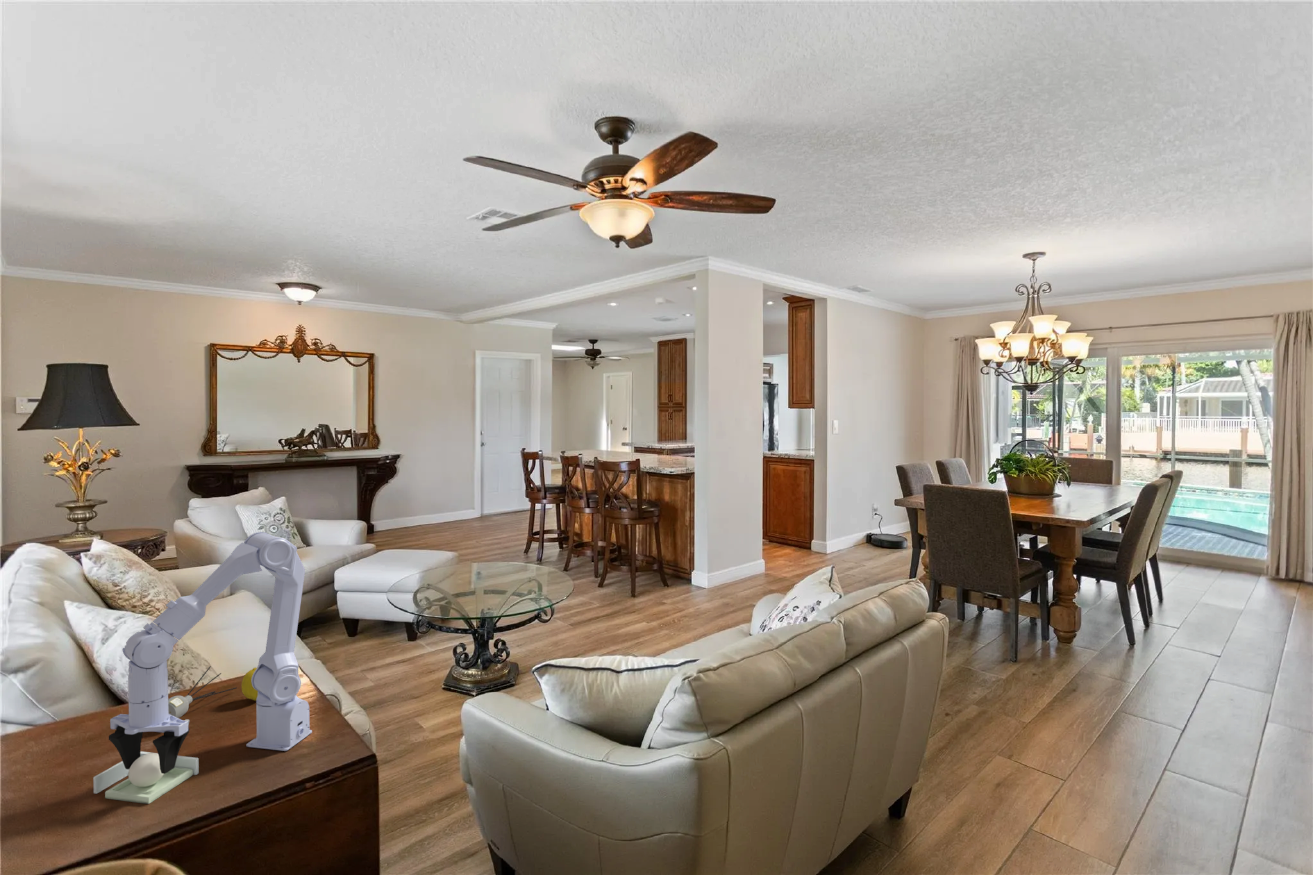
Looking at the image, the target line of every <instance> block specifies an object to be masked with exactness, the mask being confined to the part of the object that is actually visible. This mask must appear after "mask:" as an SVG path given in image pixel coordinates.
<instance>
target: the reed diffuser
mask: <svg viewBox="0 0 1313 875" xmlns="http://www.w3.org/2000/svg"><path fill="white" fill-rule="evenodd" d="M211 668H212V666H209V667H208V668H207V670H206V671H205V672H204V673H203V674H202V675H201V677H200V678H199V680H197V682H196V683H195V684H194V685H193V687H192V688H191V689H190V690H189V692H188V694H186V695H185V696H183V695H175V696H172V697H170V698H169V697H168V712H169V714H170V715H172V716H174V717H177V718H179V719H180V718H181V717H182V716H183V715H184V716H185V715H186V713H187V712H188V710H189V707H190V706H189V705H190V704H191V703H192V702H193V701H196V700H199V699H205V698H207V697H210V696H215V695H217V694H218V695H219V694H221V693H224V692H228V691H232V690H235V689H237V688H238V687H237V686H236V687H233V688H230V689H225V690H222V691H218V692H216V690H215V691H212V692H209V693H206V694H203V695H199V696H196V697H193V696H195V695H196V694H197V693H198V692H200V691H201V690H202V689H204V688H205V687H206V686H207V685H208V684H210V683H211V682H213V681H214V680H215V679H217V678H218V677H219V676H220V675H221V674H222V672H220V673H219V674H217V675H216V676H215V677H213V678H212V679H211V680H210V681H208V682H207V683H205V684H204V685H203V686H201V687H200V688H199V689H197V690H196V691H195V692H194V693H192V692H193V690H194V689H195V688H196V687H197V685H198V684H199V683H200V681H201V680H203V677H204V676H205V675H206V674H207V672H208V671H209V670H210V669H211ZM191 693H192V694H191ZM190 694H191V695H190ZM184 721H188V726H189V724H190V719H185V720H184Z"/></svg>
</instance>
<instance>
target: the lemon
mask: <svg viewBox="0 0 1313 875" xmlns="http://www.w3.org/2000/svg"><path fill="white" fill-rule="evenodd" d="M256 669H257V667H253V668H252V669H250V670H248V671H247V672H246V673H245V675H244V676H243V678H242V681H241V692H242V694H243V696H244V697H245V698H246V699H248V700H252V701H255V702H256V699H257V696H258V691H257V690H256V689H254V688H253V686H252V682H251V680H252V675H253V673H254V672H255V670H256Z"/></svg>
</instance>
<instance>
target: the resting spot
mask: <svg viewBox="0 0 1313 875" xmlns="http://www.w3.org/2000/svg"><path fill="white" fill-rule="evenodd" d="M192 776H194V775H193V769H187V768H179V767H174V769H172V770H170V771H169V772H167V773H165V774H164V775H163V777H162V778H161V779H160V780H159V781H157V782H156V783H154V784H152V785H150V786H146V787H139V786H135V785H134V784H132V783H131V782H130V780H129V777H128V778H127V779H125V780H123V781H121V782H119V783H117V784H116V785H114V786H113V787H111V788H109V789H107V790H105V792H104V795H105V796H104V798H105V799H108V800H115V801H122V802H130V803H131V802H132V803H138V804H146V805H149V804H151V803H153V802H154V801H155V800H158V799H159V798H160V797H161V796H163V795H165V794H167V793H168V792H169V791H171V790H172V789H174V788H176V787H177V786H179V785H180V784H182V783H183V782H185V781H187V780H188V779H190V778H191V777H192Z"/></svg>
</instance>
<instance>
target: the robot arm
mask: <svg viewBox="0 0 1313 875" xmlns="http://www.w3.org/2000/svg"><path fill="white" fill-rule="evenodd" d="M297 551H298V547H297V546H296V545H295V544H293V543H292V542H290V541H289V539H287V538H284V537H280V536H276V535H272V534H270V533H268V532H267V531H266V532H264V531H257V532H254V533H252V534H250V535H249V536H248V537H246V539H245V540H244V541H243V542H241V543H239V544H238V545H236V546H235V548H234V549H233V551H232V552H231V553H230V554H229V556H228V557H227V558H226V559H225V560H224V561H223V562H222V563H221V564H220V565H219V566H218V567H217V568H216V569H214V571H213V572H212V573H211V574H210V575H209V576H208V577H207V578H206V579H205V580H204V581H203V582H202V584H200V585H199V586H198V587H197V588H196V589H195V590H194V591H193V592H192V593H191V594H190V595H186V596H180V597H178V598H177V599H175V600H172V599H171V600H170V601H169V602H167V603H166V604H165V606H166V607H167V608H166V609H165V610H164V611H163V612H161V613H160V615H158V616H157V617H156V618H154V620H152V622H150V623H146V624H145V625H144V626H143V627H142V628H143V630H141V631H137V632H136V633H133V634H132V635H131V636H130V637H129V638H128V639H127V641H126V643H125V645H124V647H123V648H122V652H123V653H122V654H123V656H124V657H125V658H127V659H128V660H129V661H128V675H127V682H128V683H127V689H128V690H127V691H128V714H124V713H120V714H117V715H116V716H113V717H112V718H110V719H109V720H110V721H109V722H110V723H109V724H110V730H115V731H114V732H112V733H111V734H109V735H108V741H110V742H111V743H112V744H113V746H114V747H115V748H116V750H117V752H118V753H119V756H120V758H121V760H122V761H123V763H124V766H125V768H126V769H130V767H131V765H132V764H133V762H134V761H135V760H136V759H138V758H139V757H140V751H141V752H142V750H141V748H142V747H141V746H142V741H143V735H144V733H147V732H154V733H155V732H156V733H162V734H163V735H160V736H158V737H157V738H155V739H153V740H152V744H153V745H154V746H155V749H156V753H158V755H159V762H160V770H161V773H163V774H165V773H167V772H169V771H170V770H172V769H174V767H175V763H176V759H177V756H179V753H180V750H181V747H182V745H183V743H184V741H185V739H186V738H187V736H188V734H189V733H190V728H189V725H188V721H185V720H183V719H181V718H180V717H179V718H177V717H174V716H172V715H170V714H169V712H168V699H169V677H168V676H169V675H168V674H169V673H168V672H169V671H168V670H169V669H168V660H169V659H170V657H171V656H172V653H173V651H174V650H173V649H174V646H175V645H176V644H177V643H178V642H179V641H180V640H182V638H183V637H184V636H185V635H186V634H188V633H189V632H190V631H191V630H192V628H194V627H195V626H196V625H197V624H198V623H199V622H200V621H201V620H202V619H203V618H204V617H205V616H206V610H207V606H208V605H209V604H210V603H211V602H212V601H213V600H215V599H216V598H218V596H219V595H221V594H222V593H223V592H224V591H225V590H226V589H227V588H229V587H230V586H231V585H232V584H233V583H234V582H236V581H237V579H239V578H240V577H241V576H243V575H249V574H253V573H259V572H262V571H263V569H262V567H263V568H264V569H265V570H266V571H268V572H269V574H271V575H272V576H274V577H275V580H274V588H273V595H272V601H271V602H272V603H271V609H270V616H269V622H268V623H269V624H268V629H267V637H266V638H267V639H266V643H265V651H264V652H263V654H262V655H261V656H260V657H259V659H258V663H257V664H258V665H257V667H256V668H257V669H256V670H255V672H254V673H253V675H252V680H251V682H252V686H253V688H254V689H256V690H257V691H258V696H257V699H256V701H255V704H256V707H255V708H256V737H255V738H253V739H252V740H251V741H249V742H248V743H246V747H247V748H255V749H265V750H272V751H280V752H281V751H282V752H283V751H284V752H288V751H289V750H290V749H292V748H293V747H294V746H296V745H297V744H298V743H299V742H301V741H302V740H304V739H305V738H307V737H308V736H309V735H310V734H312V733H313V730H312V729H311V728H310V704H309V702H308V701H307V700H305V699H302V698H300V697H298V696H297V695H298V693H299V691H300V690H301V686H302V685H301V684H302V680H301V678H300V675H299V662H298V660H297V657H296V655H295V647H296V641H297V640H296V639H297V633H298V632H297V631H298V627H299V626H298V625H299V620H300V618H299V617H300V612H301V604H302V603H301V602H302V596H303V589H304V582H305V575H306V568H305V566H304V564H303V562H302V560H301V558H300V556H299V554H298V552H297ZM261 566H262V567H261ZM122 761H121V762H122Z"/></svg>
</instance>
